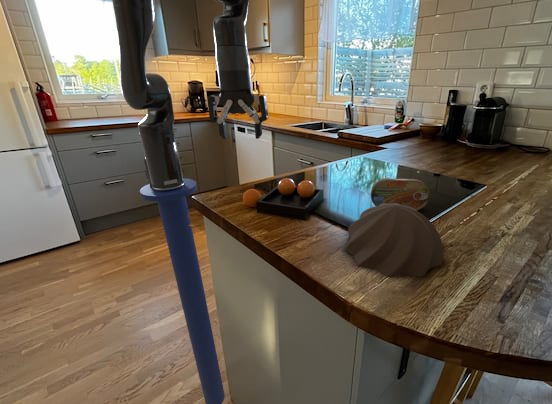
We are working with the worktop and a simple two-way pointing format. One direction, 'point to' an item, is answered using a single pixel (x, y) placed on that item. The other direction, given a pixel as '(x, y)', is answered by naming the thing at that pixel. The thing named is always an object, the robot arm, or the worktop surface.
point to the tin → (400, 192)
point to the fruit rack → (291, 200)
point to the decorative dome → (395, 241)
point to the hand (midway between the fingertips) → (241, 138)
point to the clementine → (251, 197)
